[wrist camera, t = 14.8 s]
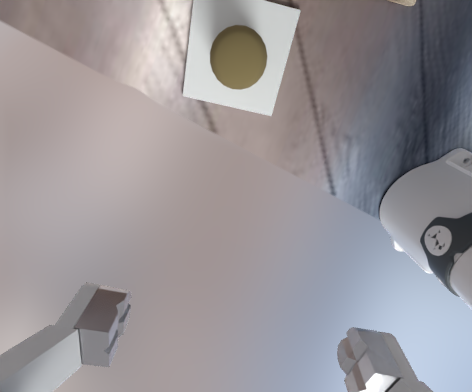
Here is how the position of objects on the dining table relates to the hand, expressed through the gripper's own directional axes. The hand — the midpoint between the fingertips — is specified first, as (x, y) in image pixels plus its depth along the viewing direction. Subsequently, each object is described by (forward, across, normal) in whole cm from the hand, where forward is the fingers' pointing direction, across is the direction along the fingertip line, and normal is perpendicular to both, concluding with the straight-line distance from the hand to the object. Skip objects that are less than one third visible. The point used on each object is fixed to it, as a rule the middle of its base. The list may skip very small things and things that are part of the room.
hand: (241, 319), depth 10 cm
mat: (+31, -2, +8) cm, 32 cm away
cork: (+30, -2, +8) cm, 31 cm away
